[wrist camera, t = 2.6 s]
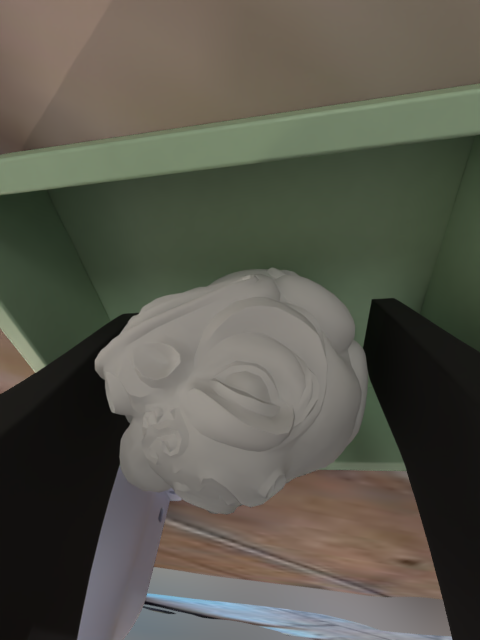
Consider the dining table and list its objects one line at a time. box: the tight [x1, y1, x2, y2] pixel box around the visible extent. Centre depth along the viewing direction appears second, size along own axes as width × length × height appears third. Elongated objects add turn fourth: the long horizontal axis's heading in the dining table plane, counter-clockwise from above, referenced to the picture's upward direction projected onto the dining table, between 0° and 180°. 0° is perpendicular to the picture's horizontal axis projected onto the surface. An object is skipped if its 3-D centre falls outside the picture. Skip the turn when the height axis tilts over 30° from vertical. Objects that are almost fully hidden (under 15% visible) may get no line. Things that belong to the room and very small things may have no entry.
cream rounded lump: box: [95, 267, 368, 514], centre depth 8 cm, size 6×7×7 cm
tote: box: [0, 83, 480, 471], centre depth 9 cm, size 11×13×4 cm
